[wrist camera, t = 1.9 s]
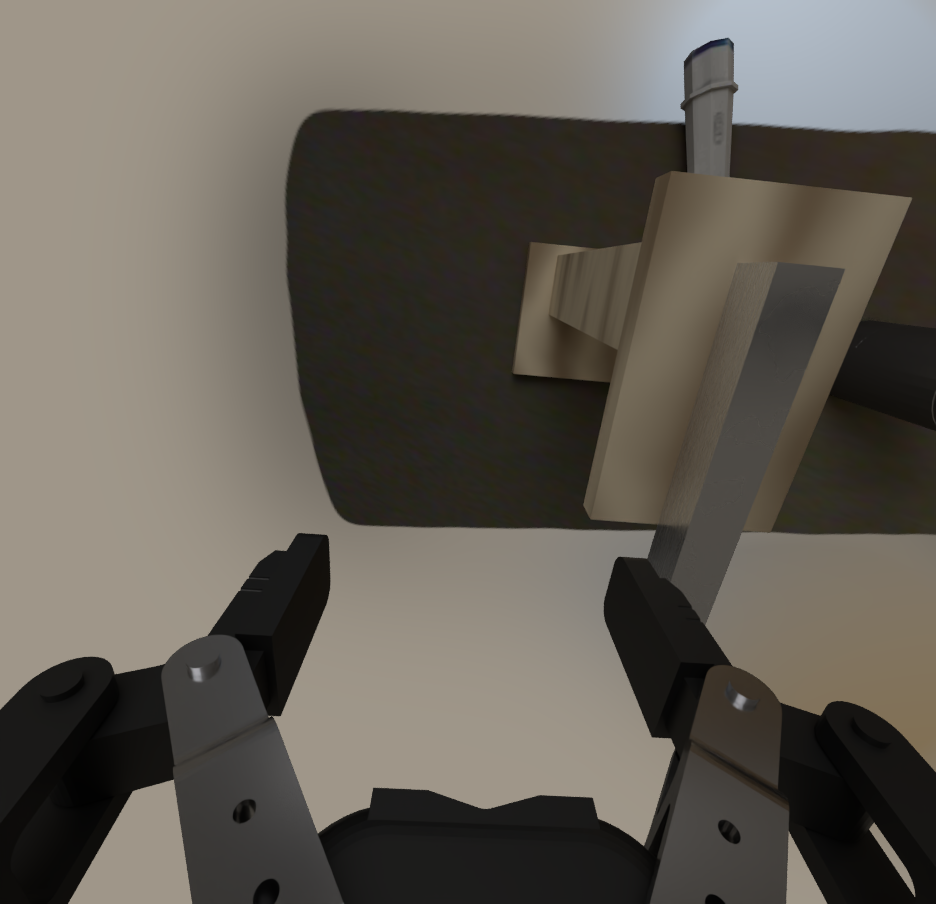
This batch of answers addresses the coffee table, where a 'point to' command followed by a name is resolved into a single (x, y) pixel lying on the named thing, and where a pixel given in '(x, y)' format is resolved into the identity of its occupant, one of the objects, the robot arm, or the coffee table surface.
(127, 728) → the robot arm
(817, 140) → the coffee table surface
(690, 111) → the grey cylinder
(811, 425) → the birch stand
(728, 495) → the grey long bar
